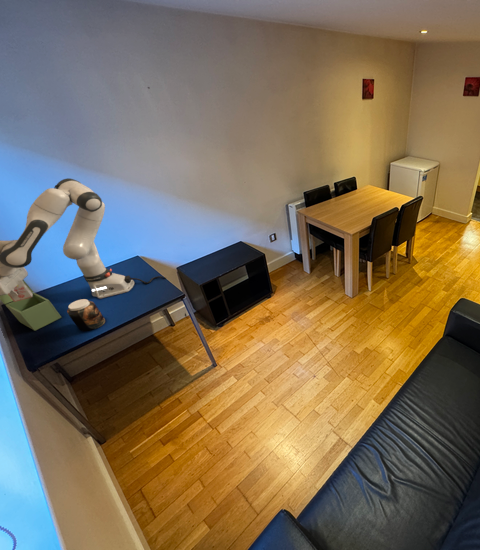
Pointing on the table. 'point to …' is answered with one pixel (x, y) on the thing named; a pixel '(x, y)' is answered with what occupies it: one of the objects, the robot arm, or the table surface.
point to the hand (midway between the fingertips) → (20, 292)
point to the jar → (85, 315)
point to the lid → (7, 298)
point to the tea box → (34, 311)
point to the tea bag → (21, 292)
